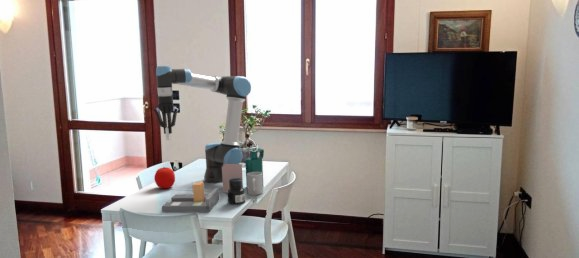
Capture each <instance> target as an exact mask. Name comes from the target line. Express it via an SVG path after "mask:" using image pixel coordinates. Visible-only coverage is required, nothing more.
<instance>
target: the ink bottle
mask: <svg viewBox="0 0 579 258" xmlns="http://www.w3.org/2000/svg"><path fill="white" fill-rule="evenodd" d="M229 187H230V188H229V189H228V192H227V203H228V205H229V204H230V205H242V204H244V203H245V202H246V190H245V188H244V187H243V188H242V179H240V178H234V179H230V180H229Z"/></svg>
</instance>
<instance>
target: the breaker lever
mask: <svg viewBox="0 0 579 258" xmlns="http://www.w3.org/2000/svg"><path fill="white" fill-rule="evenodd" d="M204 182H205V181H195V182H194V183H193V184H192V194H193V196H194V202H204V201H205V194H206V193H205V183H204Z"/></svg>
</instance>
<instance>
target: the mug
mask: <svg viewBox="0 0 579 258" xmlns="http://www.w3.org/2000/svg"><path fill="white" fill-rule="evenodd" d="M263 187H264V182H263V183H262V173H261V172H250V173H247V185H246V189H247V195H250V196H251V195H252V196H258V195H262V194H263V193H264V188H263Z"/></svg>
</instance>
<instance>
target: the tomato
mask: <svg viewBox="0 0 579 258" xmlns="http://www.w3.org/2000/svg"><path fill="white" fill-rule="evenodd" d="M175 182H176V175H175V172H174V170H173V169H172V168H170V167H165V166H163V167H160V168H158V169H157V170H156V171H155V174H154V183H155V184H156V186H157V187H158V188H159V189H168V188H169V189H170V188H172V187H173V185H174V184H175Z"/></svg>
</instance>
